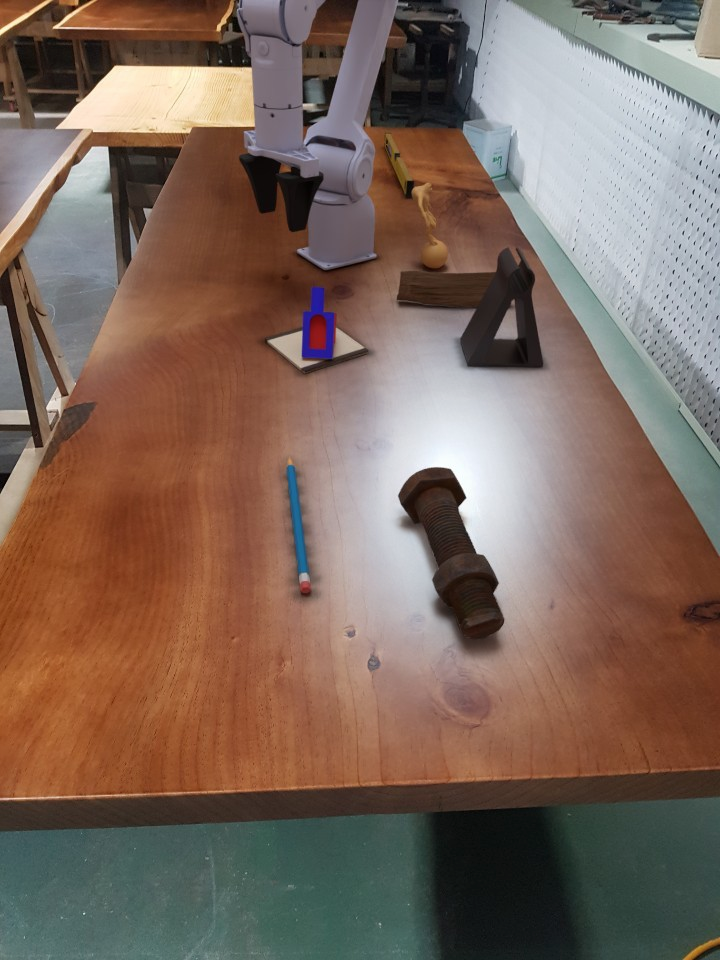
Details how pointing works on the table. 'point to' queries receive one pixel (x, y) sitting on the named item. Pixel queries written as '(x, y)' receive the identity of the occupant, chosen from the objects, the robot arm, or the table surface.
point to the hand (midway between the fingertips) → (282, 220)
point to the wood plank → (444, 288)
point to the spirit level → (399, 165)
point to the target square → (292, 351)
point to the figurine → (429, 229)
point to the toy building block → (318, 328)
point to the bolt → (453, 551)
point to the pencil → (298, 529)
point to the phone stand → (491, 311)
